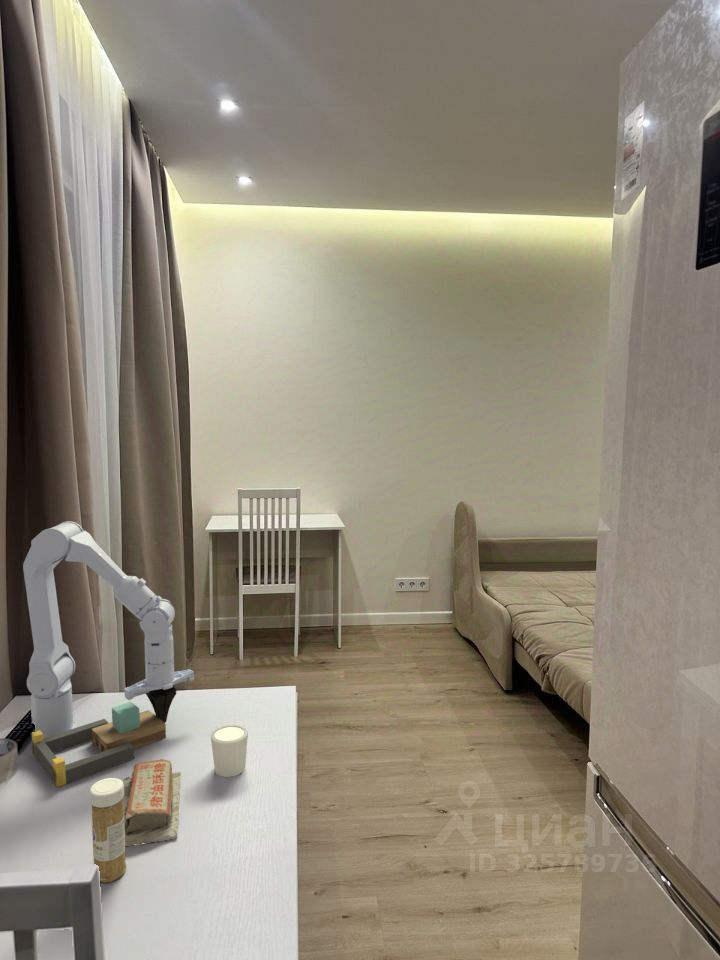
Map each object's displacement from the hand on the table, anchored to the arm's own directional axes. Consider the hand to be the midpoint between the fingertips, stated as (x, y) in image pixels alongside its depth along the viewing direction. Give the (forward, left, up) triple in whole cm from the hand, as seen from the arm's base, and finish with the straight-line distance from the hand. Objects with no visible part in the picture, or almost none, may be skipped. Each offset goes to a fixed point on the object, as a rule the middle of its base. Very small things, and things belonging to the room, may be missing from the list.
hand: (161, 721), depth 133 cm
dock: (0, -16, -2) cm, 16 cm away
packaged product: (+25, -14, -2) cm, 28 cm away
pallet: (0, -7, -2) cm, 7 cm away
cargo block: (0, -7, +1) cm, 8 cm away
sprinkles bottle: (+35, -24, -2) cm, 43 cm away
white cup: (+23, +3, -2) cm, 23 cm away
